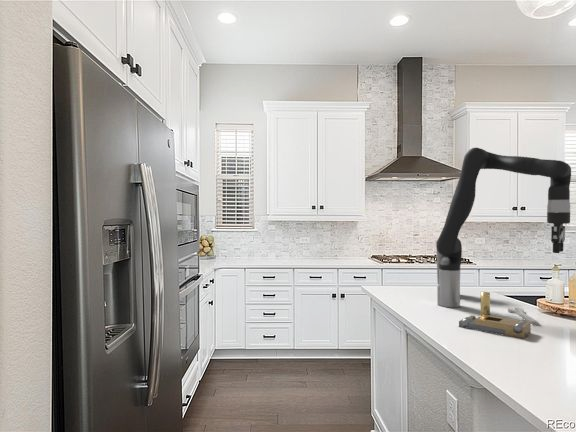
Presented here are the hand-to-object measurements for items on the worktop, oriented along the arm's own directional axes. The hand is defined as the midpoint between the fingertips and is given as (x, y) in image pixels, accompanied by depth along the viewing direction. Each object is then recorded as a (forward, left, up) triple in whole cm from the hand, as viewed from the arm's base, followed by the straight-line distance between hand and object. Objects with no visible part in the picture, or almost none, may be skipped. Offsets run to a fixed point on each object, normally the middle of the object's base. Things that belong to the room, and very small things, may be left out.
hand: (558, 252), depth 151 cm
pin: (-23, -13, -28) cm, 39 cm away
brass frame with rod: (-16, -27, -28) cm, 42 cm away
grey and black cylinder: (-53, +26, -28) cm, 65 cm away
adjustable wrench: (-13, +1, -29) cm, 32 cm away
